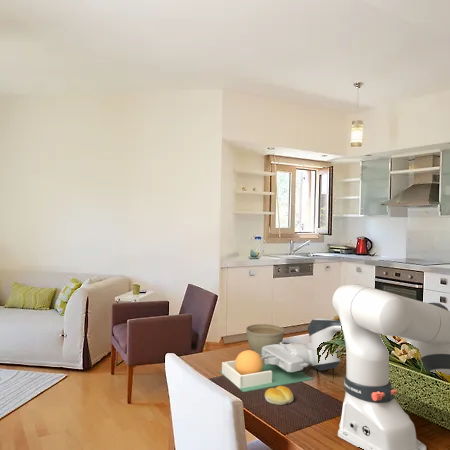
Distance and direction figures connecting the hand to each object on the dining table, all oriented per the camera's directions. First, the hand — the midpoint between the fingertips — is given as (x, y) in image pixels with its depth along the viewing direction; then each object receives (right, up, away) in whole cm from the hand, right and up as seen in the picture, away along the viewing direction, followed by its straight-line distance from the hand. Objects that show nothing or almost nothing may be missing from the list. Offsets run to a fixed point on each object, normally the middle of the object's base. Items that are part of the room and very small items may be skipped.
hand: (263, 360), depth 149 cm
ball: (-5, 0, -4) cm, 6 cm away
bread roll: (+3, -6, -19) cm, 21 cm away
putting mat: (+1, -6, 0) cm, 6 cm away
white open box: (-6, -6, -2) cm, 8 cm away
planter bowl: (+3, -6, +24) cm, 25 cm away
